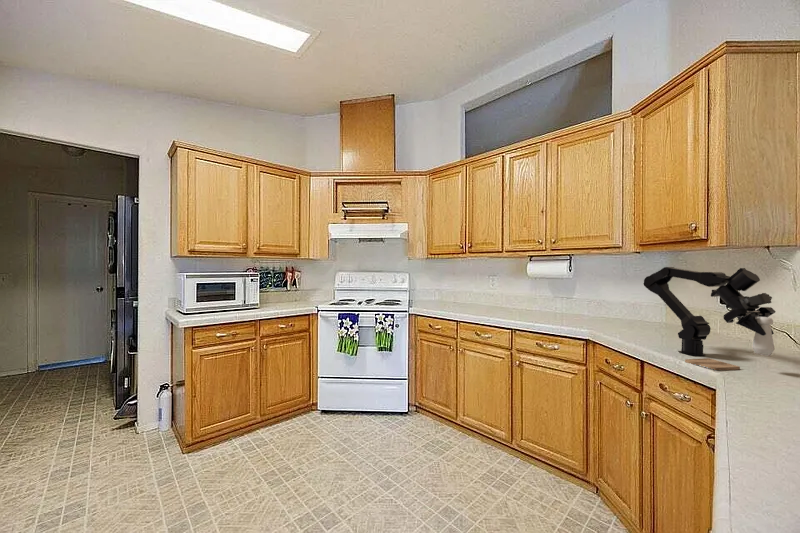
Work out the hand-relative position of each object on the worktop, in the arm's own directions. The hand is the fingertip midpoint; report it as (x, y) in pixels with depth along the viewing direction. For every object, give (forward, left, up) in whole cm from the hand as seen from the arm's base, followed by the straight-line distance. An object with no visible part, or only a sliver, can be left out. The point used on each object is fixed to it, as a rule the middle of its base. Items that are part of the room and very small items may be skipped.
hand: (768, 334), depth 129 cm
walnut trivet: (-10, -11, -13) cm, 20 cm away
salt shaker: (-1, 0, -7) cm, 7 cm away
